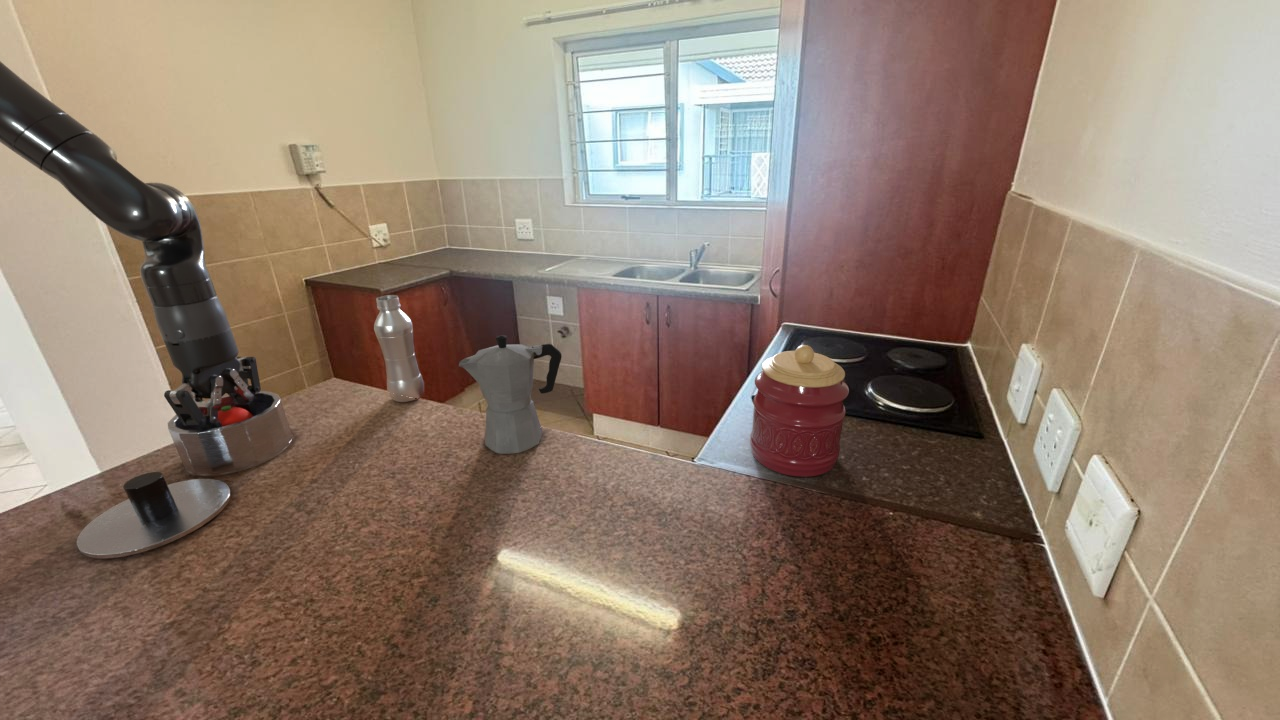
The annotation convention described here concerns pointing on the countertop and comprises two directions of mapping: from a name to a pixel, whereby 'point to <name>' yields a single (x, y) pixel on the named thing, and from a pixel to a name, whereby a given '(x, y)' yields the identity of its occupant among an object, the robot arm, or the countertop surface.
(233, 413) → the tomato
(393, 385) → the plastic bottle
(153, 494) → the pan lid
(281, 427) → the saucepan
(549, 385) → the coffeepot
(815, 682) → the countertop surface
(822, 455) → the kitchen canister
